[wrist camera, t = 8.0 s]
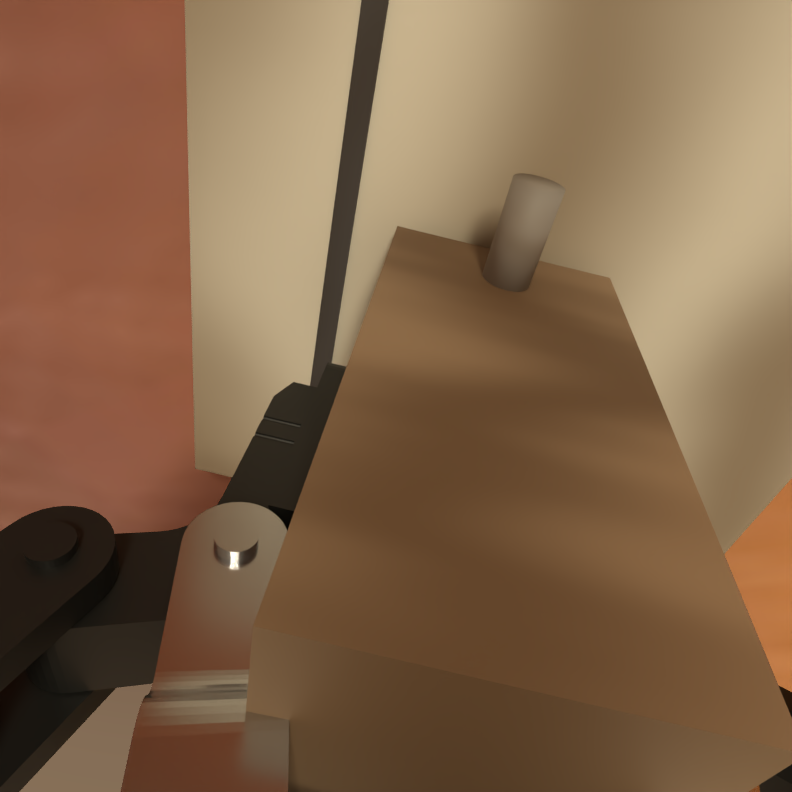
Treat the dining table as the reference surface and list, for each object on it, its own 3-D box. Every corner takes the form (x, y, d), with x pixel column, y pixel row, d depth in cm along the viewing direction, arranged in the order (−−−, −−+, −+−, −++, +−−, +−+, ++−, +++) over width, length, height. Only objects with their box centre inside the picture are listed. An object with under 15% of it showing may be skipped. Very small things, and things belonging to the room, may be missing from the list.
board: (1753, -863, 5) (2362, -1267, 4) (675, 530, 17) (696, 590, 16) (253, -1294, 5) (134, -1939, 3) (222, 422, 17) (193, 471, 15)
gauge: (650, 191, 9) (994, 634, 3) (507, 497, 14) (524, 932, 8) (416, 133, 9) (266, 462, 3) (349, 459, 14) (232, 867, 8)
